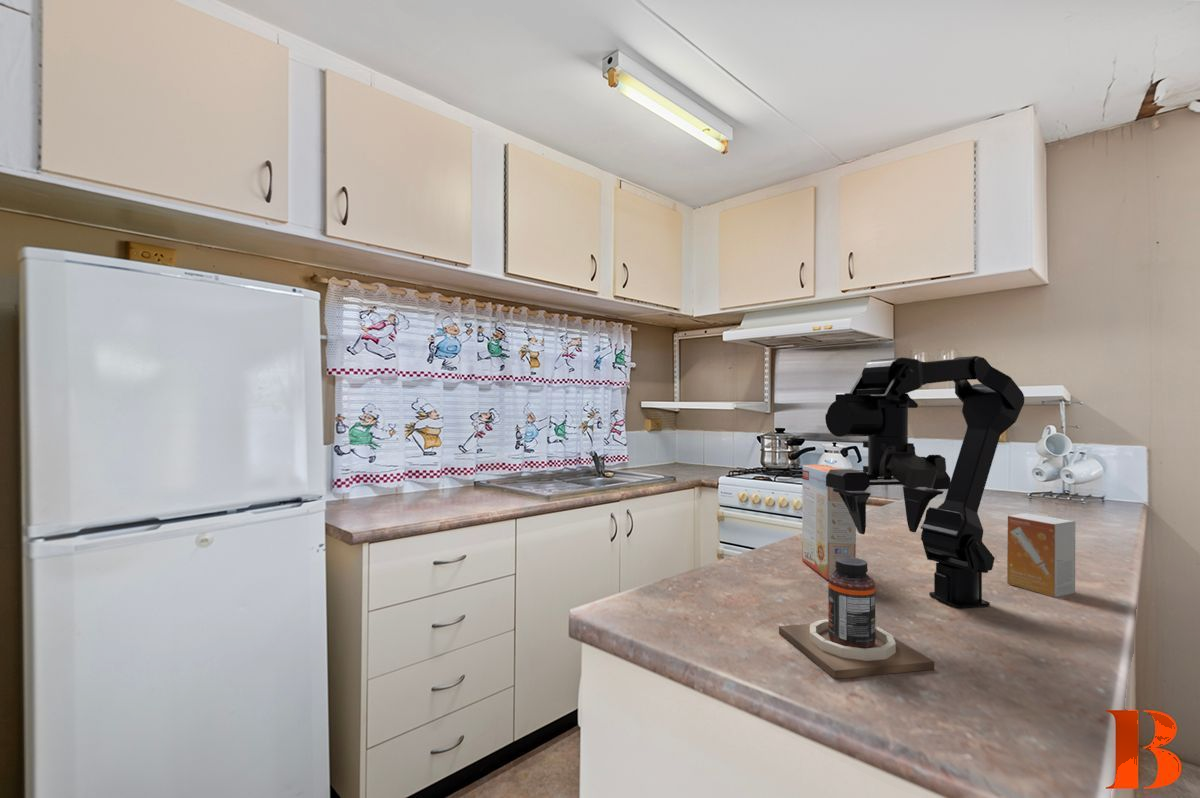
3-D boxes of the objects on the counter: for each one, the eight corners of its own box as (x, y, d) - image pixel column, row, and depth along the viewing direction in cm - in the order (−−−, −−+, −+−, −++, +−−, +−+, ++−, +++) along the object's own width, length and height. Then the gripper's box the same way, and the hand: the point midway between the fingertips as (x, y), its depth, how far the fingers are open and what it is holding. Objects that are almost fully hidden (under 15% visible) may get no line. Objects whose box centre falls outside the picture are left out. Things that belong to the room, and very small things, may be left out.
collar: (861, 624, 84) (861, 616, 84) (912, 656, 73) (912, 647, 73) (795, 629, 82) (795, 621, 82) (839, 663, 71) (838, 653, 71)
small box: (1006, 584, 106) (1006, 515, 106) (1027, 580, 108) (1027, 512, 108) (1055, 598, 98) (1055, 523, 98) (1076, 593, 101) (1076, 520, 101)
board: (864, 626, 86) (864, 619, 86) (934, 669, 72) (934, 661, 72) (778, 632, 83) (778, 626, 83) (834, 678, 69) (834, 670, 69)
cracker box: (858, 581, 107) (858, 471, 107) (826, 581, 107) (826, 471, 107) (829, 560, 121) (829, 463, 121) (801, 560, 121) (800, 463, 121)
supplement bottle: (826, 631, 81) (826, 552, 81) (872, 636, 79) (872, 556, 80) (829, 648, 76) (829, 563, 76) (878, 654, 74) (878, 568, 74)
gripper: (868, 439, 81) (867, 547, 81) (979, 439, 85) (979, 543, 85) (824, 435, 92) (823, 530, 92) (924, 434, 96) (924, 526, 96)
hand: (887, 532), depth 91 cm, fingers open, 9 cm apart
